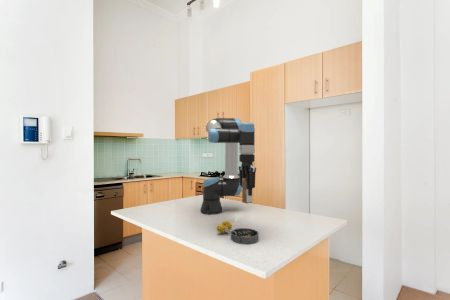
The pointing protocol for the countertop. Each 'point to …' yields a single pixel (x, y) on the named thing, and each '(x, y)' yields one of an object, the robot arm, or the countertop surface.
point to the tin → (245, 236)
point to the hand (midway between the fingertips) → (247, 201)
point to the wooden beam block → (244, 190)
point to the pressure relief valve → (225, 227)
